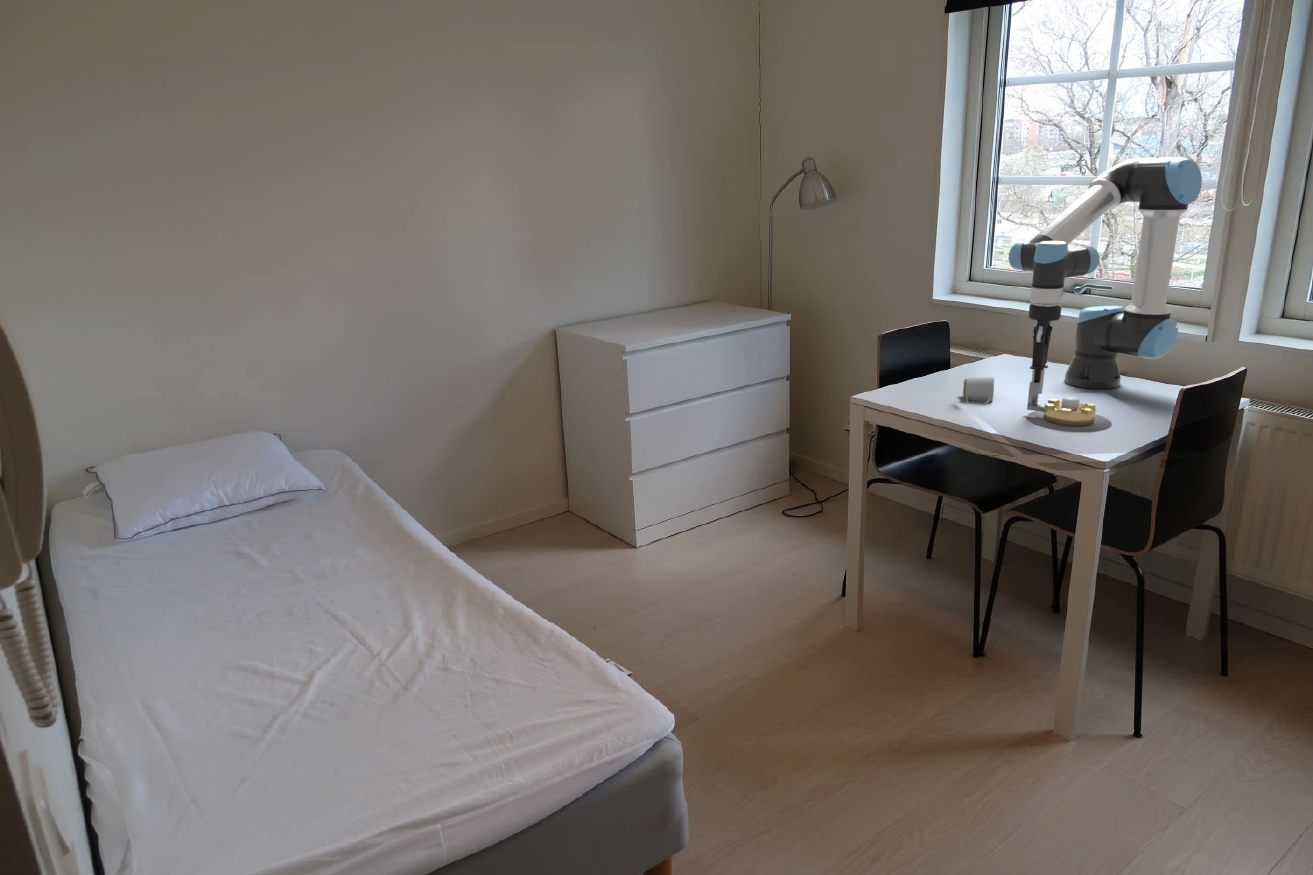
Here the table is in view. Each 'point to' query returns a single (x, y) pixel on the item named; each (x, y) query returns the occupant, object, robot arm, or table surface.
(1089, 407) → the gold crank wheel
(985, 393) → the ceramic mug
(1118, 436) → the table surface
